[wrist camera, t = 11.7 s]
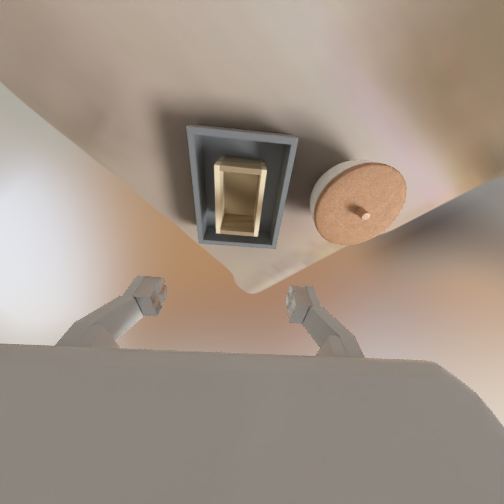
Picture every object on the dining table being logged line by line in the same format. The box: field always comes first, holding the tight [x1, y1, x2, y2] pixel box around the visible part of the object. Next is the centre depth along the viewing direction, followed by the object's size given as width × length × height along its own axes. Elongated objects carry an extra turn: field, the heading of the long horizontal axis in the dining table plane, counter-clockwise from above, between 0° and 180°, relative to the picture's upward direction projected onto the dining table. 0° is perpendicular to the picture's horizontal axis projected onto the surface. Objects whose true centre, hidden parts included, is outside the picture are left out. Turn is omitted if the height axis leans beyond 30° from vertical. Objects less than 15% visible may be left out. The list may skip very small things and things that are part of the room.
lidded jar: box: [310, 160, 406, 245], centre depth 25 cm, size 11×11×9 cm
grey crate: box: [186, 124, 299, 249], centre depth 26 cm, size 15×12×5 cm
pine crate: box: [214, 155, 267, 237], centre depth 25 cm, size 9×6×6 cm, turn 174°
